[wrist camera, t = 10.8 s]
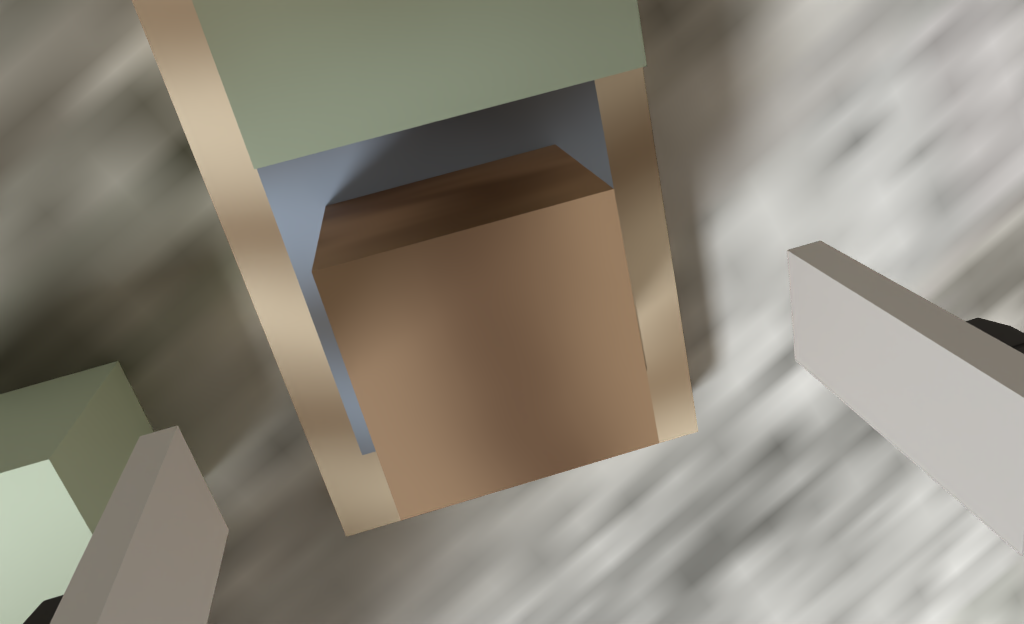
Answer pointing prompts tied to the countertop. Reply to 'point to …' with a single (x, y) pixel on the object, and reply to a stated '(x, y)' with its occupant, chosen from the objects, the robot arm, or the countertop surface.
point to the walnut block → (487, 326)
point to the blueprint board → (388, 164)
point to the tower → (400, 62)
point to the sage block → (59, 477)
